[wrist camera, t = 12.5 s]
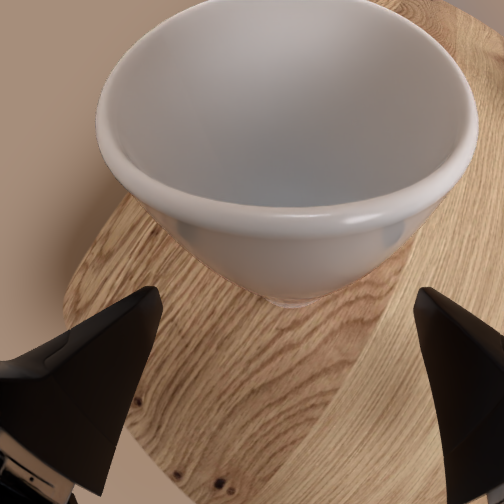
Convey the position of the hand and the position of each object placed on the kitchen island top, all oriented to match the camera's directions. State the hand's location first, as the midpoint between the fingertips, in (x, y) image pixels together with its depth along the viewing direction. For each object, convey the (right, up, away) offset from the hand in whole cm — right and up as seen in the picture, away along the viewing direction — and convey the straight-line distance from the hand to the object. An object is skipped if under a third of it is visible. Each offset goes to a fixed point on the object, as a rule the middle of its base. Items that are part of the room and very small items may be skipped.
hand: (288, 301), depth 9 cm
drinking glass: (+1, +1, +9) cm, 9 cm away
